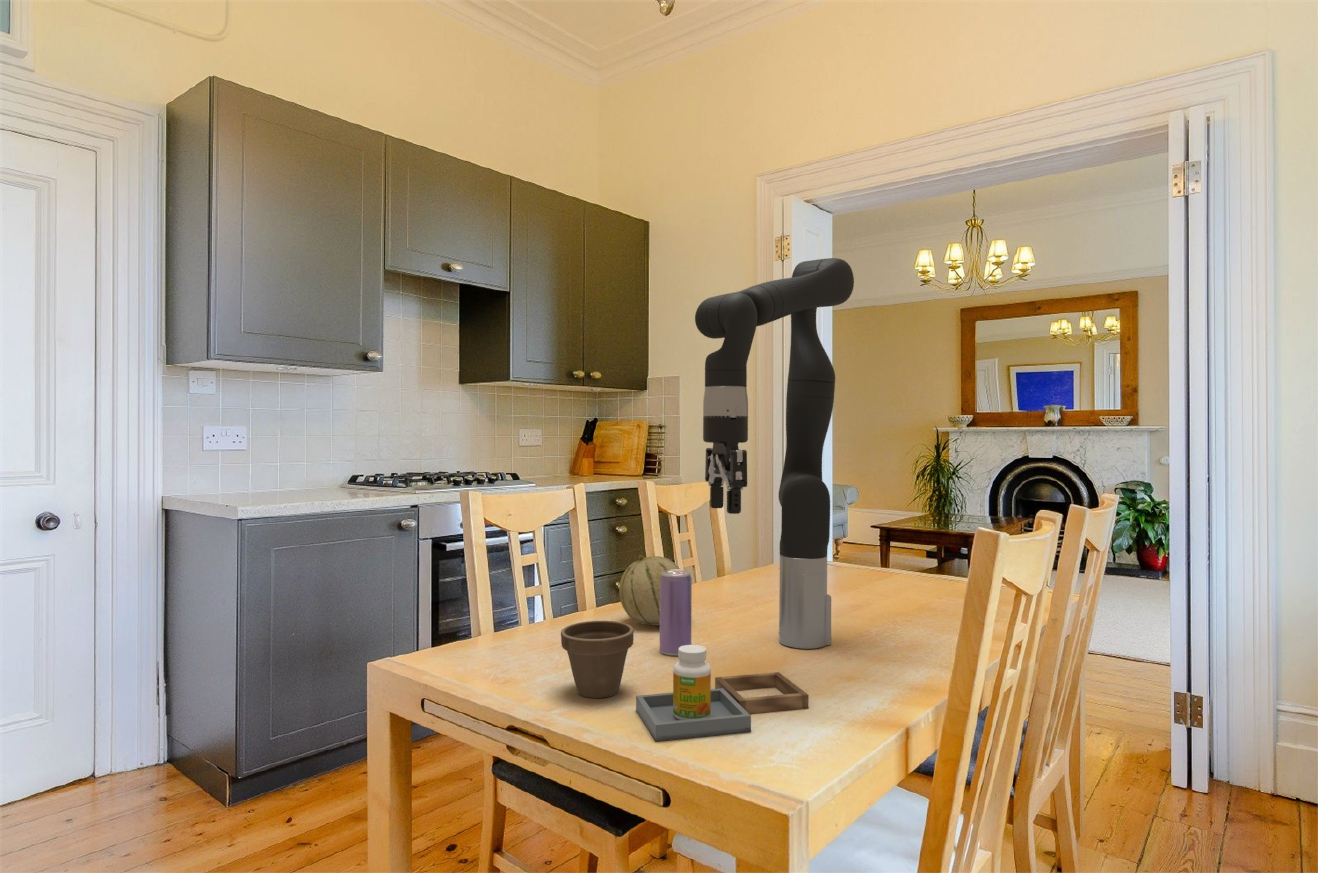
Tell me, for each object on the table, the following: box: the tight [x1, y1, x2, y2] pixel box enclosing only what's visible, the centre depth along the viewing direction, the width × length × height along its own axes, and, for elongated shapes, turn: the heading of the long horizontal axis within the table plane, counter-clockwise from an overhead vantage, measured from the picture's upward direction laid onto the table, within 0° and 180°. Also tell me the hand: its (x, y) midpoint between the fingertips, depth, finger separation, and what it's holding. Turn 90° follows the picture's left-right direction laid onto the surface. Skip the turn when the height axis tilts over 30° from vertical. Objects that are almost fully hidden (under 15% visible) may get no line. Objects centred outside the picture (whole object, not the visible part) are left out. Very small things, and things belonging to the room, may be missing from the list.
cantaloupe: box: [618, 554, 681, 626], centre depth 163 cm, size 15×15×15 cm
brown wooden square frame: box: [714, 671, 810, 715], centre depth 118 cm, size 11×11×2 cm
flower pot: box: [560, 620, 635, 699], centre depth 120 cm, size 12×11×10 cm
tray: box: [635, 688, 752, 742], centre depth 109 cm, size 14×12×2 cm
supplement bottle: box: [672, 644, 712, 720], centre depth 109 cm, size 5×5×10 cm
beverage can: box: [659, 569, 693, 657], centre depth 142 cm, size 6×6×15 cm
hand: (725, 510), depth 128 cm, fingers open, 8 cm apart
